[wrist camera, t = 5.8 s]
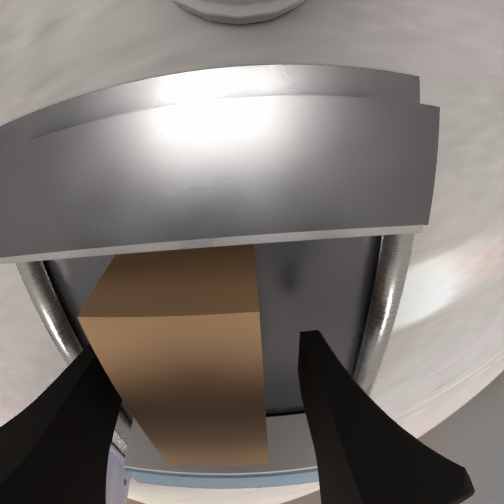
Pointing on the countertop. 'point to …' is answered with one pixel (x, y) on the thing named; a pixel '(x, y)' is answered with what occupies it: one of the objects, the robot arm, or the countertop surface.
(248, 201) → the vise
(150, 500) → the countertop surface
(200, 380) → the walnut block
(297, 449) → the bar
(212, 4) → the bottle
